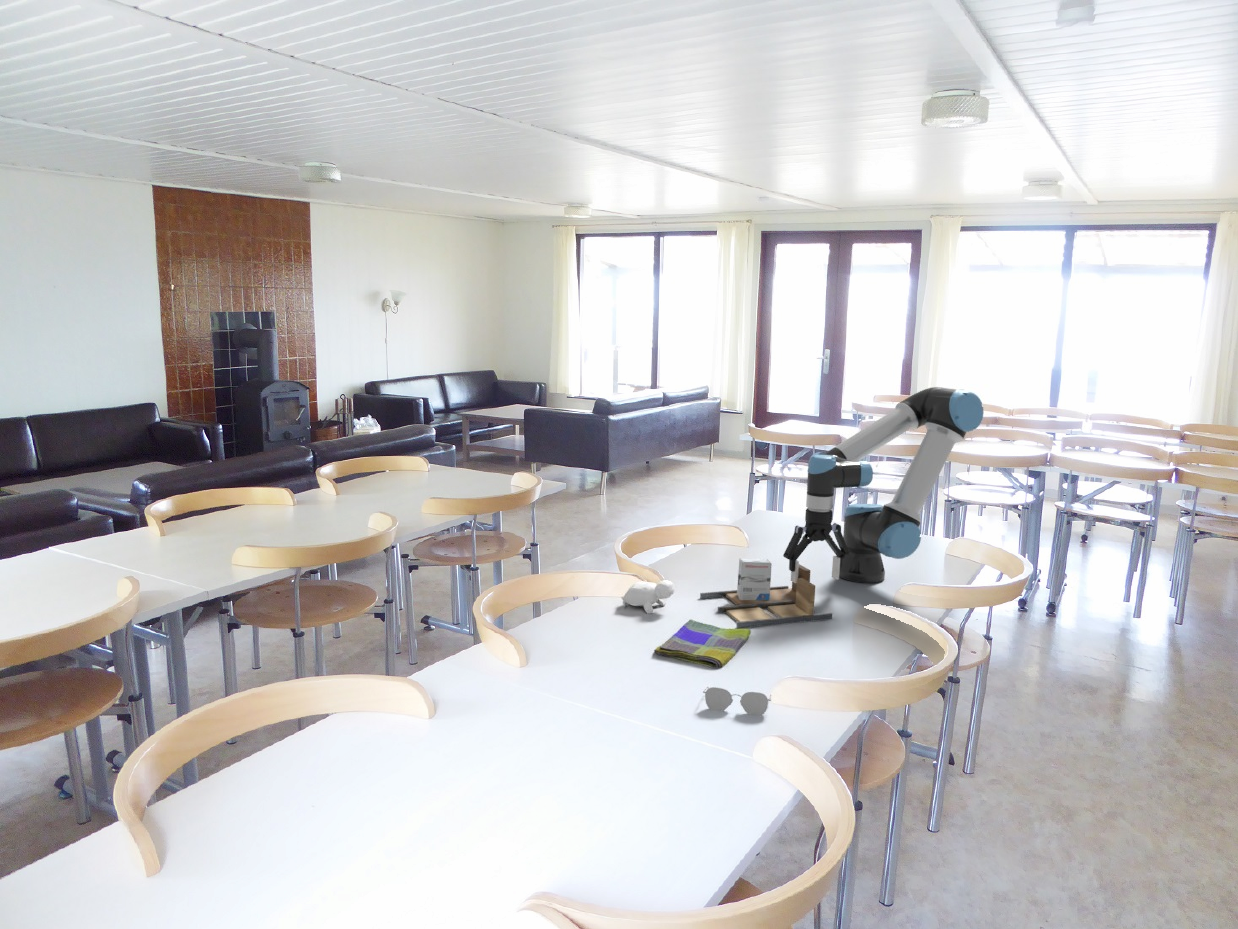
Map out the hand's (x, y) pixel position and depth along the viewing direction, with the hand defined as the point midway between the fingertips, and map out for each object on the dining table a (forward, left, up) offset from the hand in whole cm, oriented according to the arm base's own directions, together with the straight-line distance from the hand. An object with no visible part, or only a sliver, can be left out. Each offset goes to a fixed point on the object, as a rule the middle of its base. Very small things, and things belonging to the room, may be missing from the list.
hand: (814, 580), depth 246 cm
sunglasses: (+52, +58, -6) cm, 78 cm away
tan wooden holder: (+15, 0, -5) cm, 16 cm away
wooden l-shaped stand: (+20, +12, -5) cm, 24 cm away
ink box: (+20, 0, -5) cm, 20 cm away
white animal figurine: (+50, -2, -5) cm, 51 cm away
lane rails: (+19, +6, -5) cm, 21 cm away
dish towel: (+46, +27, -6) cm, 54 cm away
